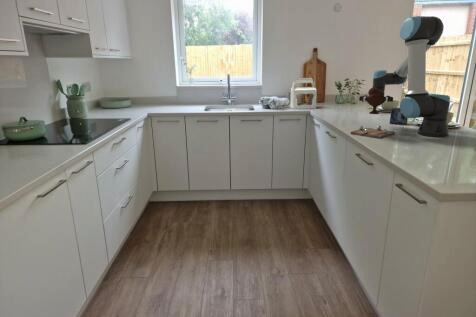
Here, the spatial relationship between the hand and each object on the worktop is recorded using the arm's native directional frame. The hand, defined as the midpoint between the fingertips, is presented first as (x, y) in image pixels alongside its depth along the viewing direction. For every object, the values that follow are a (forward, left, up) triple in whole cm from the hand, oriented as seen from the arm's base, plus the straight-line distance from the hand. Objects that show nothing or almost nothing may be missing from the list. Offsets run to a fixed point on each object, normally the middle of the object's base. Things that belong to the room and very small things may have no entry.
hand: (375, 100), depth 182 cm
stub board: (+2, -3, -20) cm, 20 cm away
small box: (+6, -45, -20) cm, 50 cm away
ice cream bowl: (+2, -4, -8) cm, 9 cm away
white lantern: (+106, -66, -20) cm, 126 cm away
